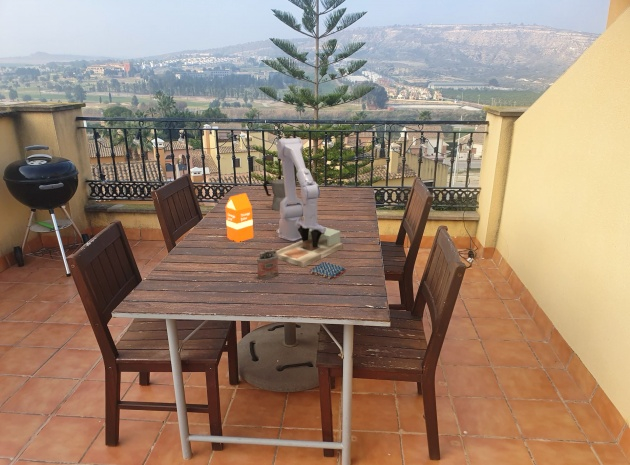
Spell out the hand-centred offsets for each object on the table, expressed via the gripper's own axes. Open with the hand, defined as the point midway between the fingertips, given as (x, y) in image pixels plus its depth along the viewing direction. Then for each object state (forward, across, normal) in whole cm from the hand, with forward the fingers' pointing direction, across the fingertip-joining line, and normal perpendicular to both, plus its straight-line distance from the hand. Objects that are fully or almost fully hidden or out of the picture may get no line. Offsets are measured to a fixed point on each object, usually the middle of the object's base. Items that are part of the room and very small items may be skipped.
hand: (310, 245), depth 191 cm
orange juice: (+3, -35, -7) cm, 36 cm away
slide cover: (+1, 0, +8) cm, 9 cm away
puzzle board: (+3, 0, -1) cm, 3 cm away
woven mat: (+4, +18, -11) cm, 22 cm away
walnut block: (+3, 0, 0) cm, 3 cm away
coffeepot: (+3, -53, +37) cm, 65 cm away
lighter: (+3, +3, -28) cm, 28 cm away
